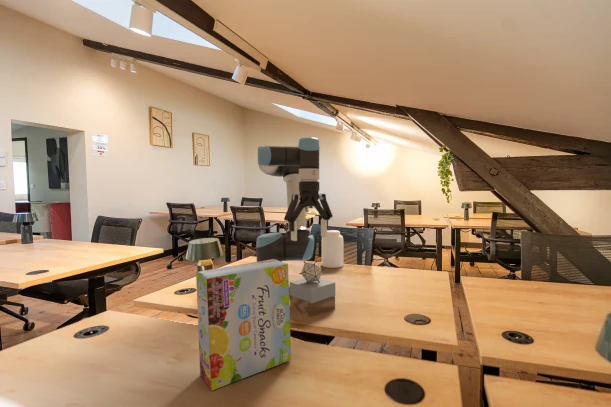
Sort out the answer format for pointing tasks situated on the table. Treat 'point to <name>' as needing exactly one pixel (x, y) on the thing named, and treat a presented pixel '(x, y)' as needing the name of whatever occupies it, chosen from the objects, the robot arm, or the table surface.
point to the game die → (311, 272)
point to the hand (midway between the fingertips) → (309, 238)
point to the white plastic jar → (332, 249)
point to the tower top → (312, 290)
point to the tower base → (312, 305)
